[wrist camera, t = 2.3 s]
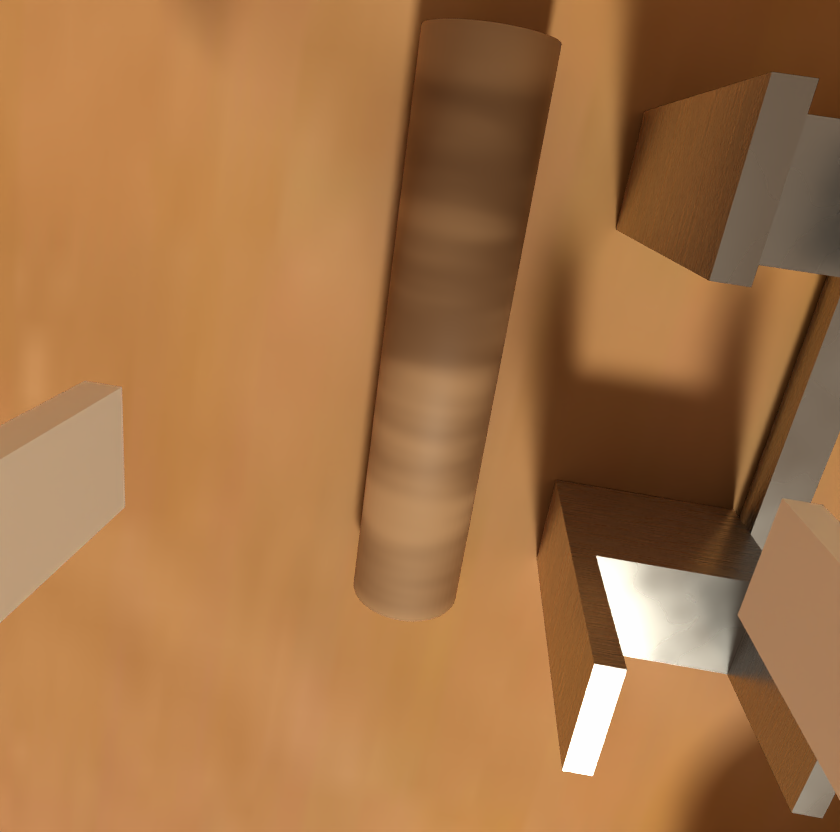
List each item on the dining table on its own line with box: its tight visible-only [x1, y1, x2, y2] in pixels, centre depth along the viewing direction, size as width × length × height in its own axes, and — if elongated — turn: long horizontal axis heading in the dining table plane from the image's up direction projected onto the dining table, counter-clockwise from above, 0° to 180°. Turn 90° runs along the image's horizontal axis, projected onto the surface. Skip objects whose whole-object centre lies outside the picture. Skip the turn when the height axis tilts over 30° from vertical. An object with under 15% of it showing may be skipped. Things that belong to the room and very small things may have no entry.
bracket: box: [537, 72, 840, 818], centre depth 19 cm, size 19×9×10 cm, turn 172°
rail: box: [354, 18, 562, 621], centre depth 22 cm, size 19×4×4 cm, turn 172°
